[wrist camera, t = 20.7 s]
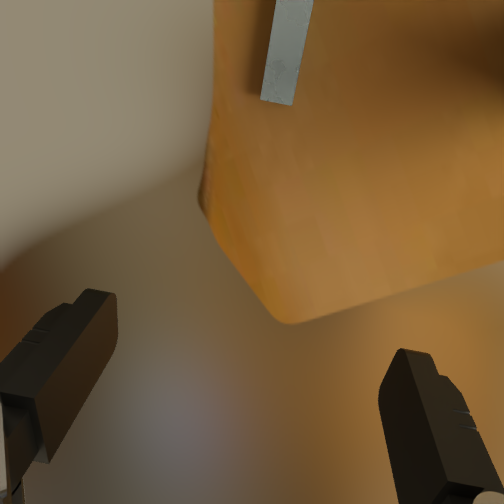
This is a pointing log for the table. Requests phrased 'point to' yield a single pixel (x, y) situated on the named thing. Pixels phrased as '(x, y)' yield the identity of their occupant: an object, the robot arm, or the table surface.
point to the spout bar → (285, 50)
